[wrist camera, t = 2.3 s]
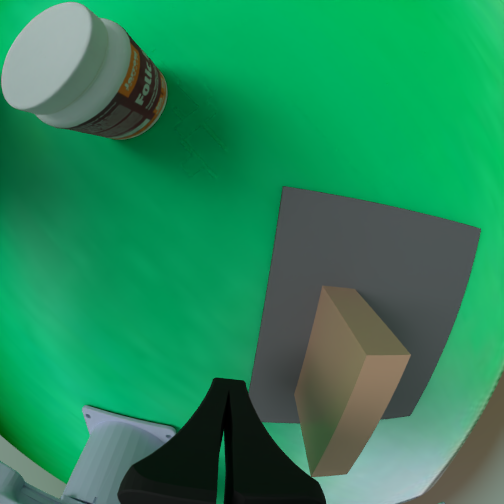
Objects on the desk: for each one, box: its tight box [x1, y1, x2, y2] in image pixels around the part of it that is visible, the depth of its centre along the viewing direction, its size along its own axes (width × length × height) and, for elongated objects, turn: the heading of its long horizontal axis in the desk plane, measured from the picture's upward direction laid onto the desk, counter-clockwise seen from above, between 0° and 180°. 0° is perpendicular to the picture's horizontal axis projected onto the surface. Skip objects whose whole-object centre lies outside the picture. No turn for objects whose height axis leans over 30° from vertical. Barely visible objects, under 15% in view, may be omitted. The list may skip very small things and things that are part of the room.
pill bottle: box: [1, 2, 168, 140], centre depth 10 cm, size 5×5×8 cm
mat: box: [249, 186, 481, 423], centre depth 18 cm, size 16×14×1 cm
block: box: [294, 286, 411, 477], centre depth 14 cm, size 8×2×7 cm, turn 172°
